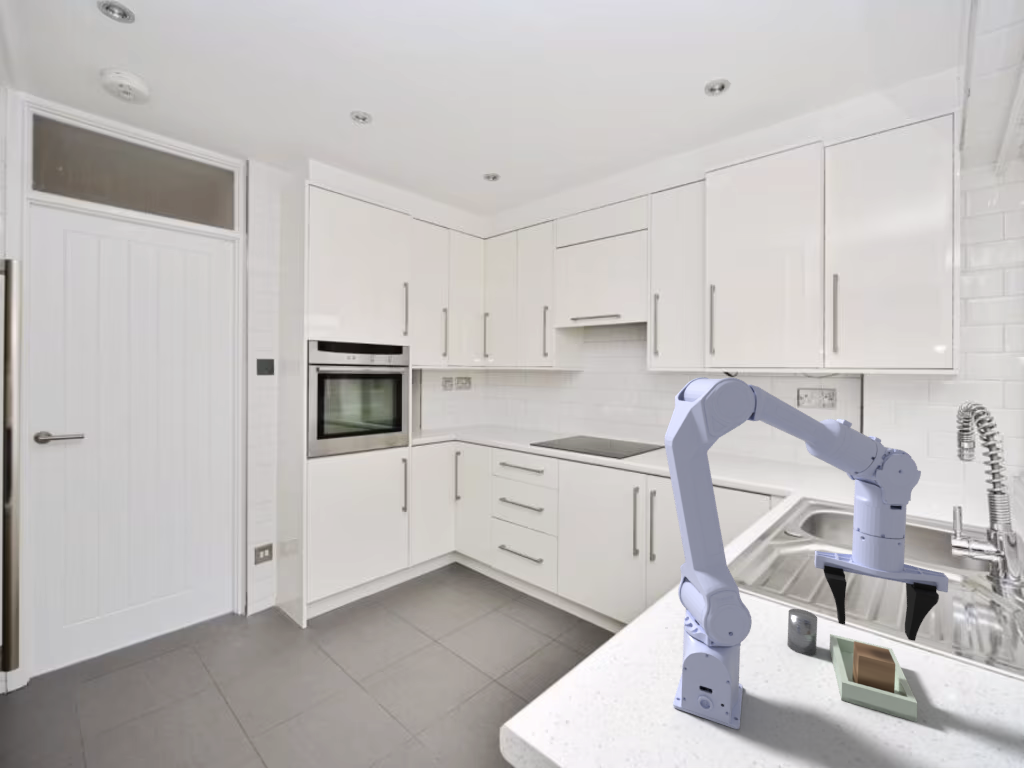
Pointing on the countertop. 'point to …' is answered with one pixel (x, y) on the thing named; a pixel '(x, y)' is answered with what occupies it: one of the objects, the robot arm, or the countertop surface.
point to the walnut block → (873, 667)
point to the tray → (866, 696)
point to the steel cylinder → (802, 631)
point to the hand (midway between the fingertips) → (874, 628)
